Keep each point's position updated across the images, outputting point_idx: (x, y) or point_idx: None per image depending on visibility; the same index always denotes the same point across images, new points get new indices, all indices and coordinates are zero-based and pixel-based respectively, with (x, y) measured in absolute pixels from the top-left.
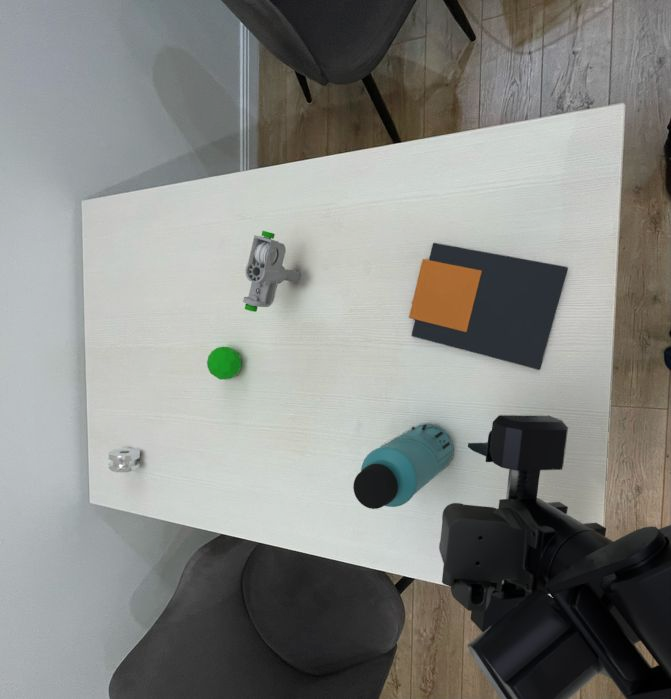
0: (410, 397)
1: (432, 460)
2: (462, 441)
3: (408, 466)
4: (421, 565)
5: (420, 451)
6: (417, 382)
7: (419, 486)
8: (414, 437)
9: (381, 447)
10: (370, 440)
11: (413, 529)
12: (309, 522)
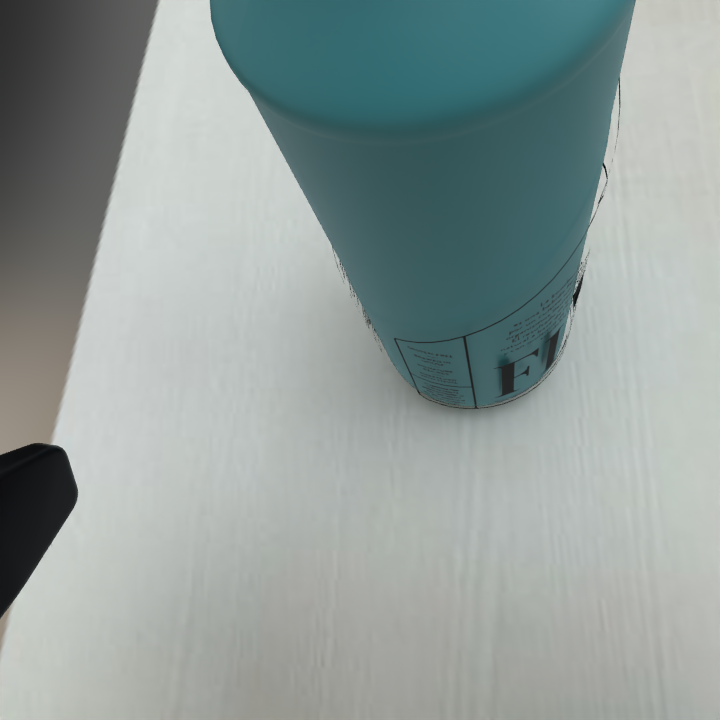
0: (638, 260)
1: (482, 302)
2: (495, 439)
3: (533, 32)
4: (104, 311)
5: (556, 217)
6: (701, 281)
7: (353, 189)
8: (591, 213)
9: None
10: None
11: (202, 285)
12: None
